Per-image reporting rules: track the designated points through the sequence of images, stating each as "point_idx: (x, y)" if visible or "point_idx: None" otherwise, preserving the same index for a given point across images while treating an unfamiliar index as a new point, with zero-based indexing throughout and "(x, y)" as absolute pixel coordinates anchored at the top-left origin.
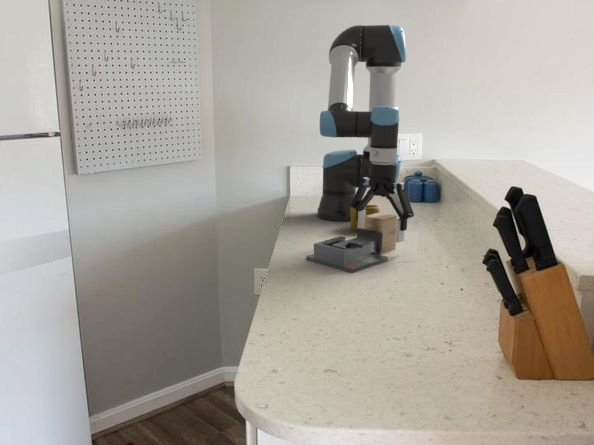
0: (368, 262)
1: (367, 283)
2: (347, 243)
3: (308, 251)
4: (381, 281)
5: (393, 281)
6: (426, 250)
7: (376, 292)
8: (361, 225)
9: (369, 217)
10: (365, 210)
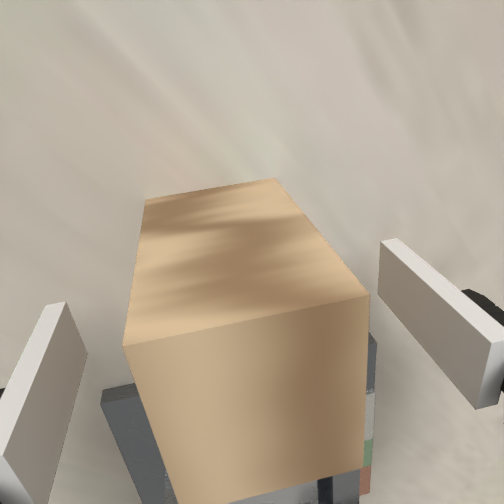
0: (369, 436)
1: (443, 479)
2: (254, 500)
3: (64, 500)
4: (465, 449)
5: (493, 427)
6: (423, 27)
7: (491, 487)
8: (69, 381)
9: (231, 495)
10: (2, 460)
